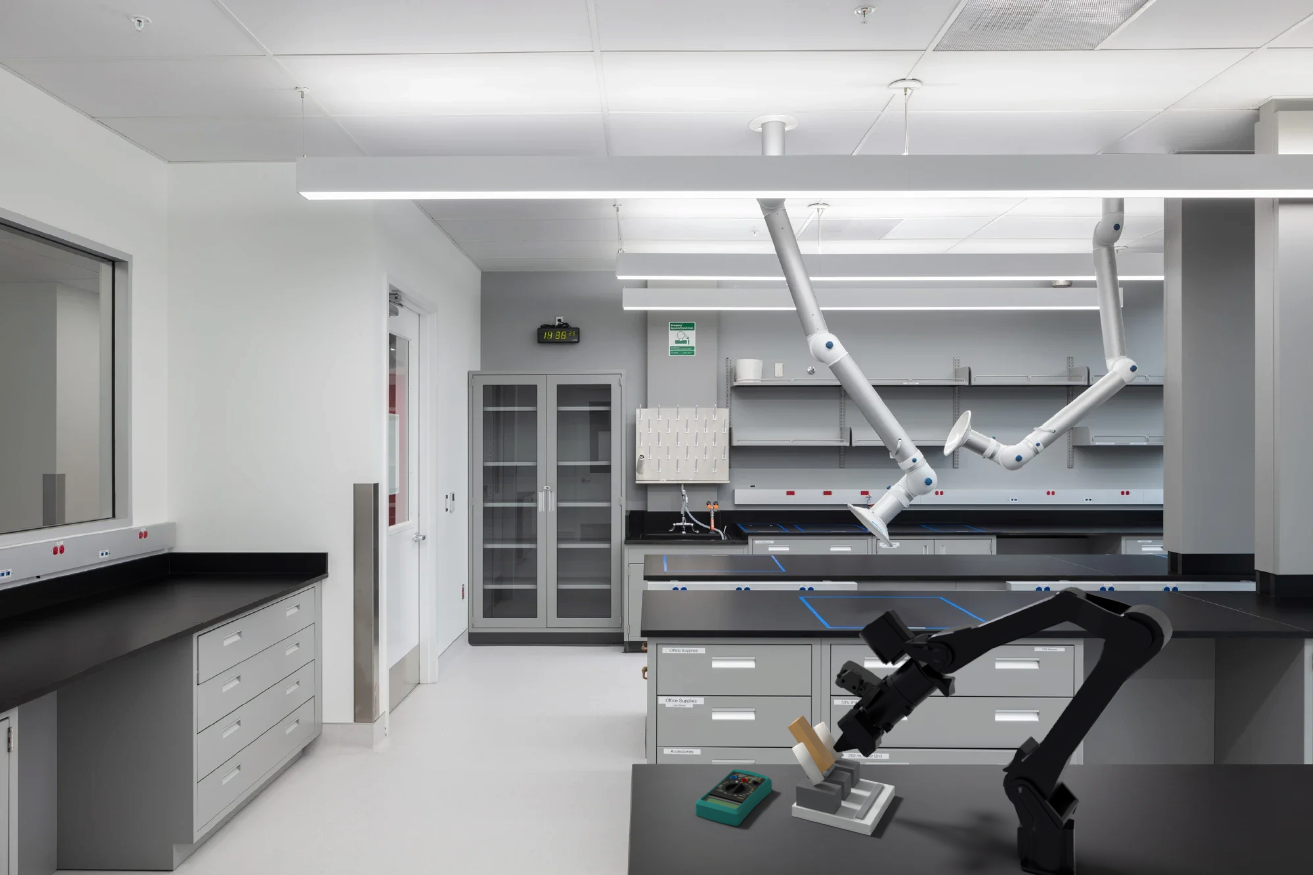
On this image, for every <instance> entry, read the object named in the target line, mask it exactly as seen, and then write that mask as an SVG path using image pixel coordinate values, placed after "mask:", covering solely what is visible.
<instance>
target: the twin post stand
mask: <svg viewBox="0 0 1313 875" xmlns="http://www.w3.org/2000/svg"><path fill="white" fill-rule="evenodd" d="M813 730H814V731H815V733H816V734H817V736H818V737H819V738H820V740H821V741H822V743H823V744H824V745H825V747H826V748H827V750H828V751H829V753H830V754H831V755H832V757H833V758H834V760H835V762H834V764H835V768H834V769H833V771H832V772H831V773H830V774H829V775H828V776H827V777H825V776H824V775H823V772H822V773H821V772H820V770H819V769H818V767H817V765H816V764H815V762H814V760H813V759H812V757H811V755H810V754H809V752H808V750H807V748H806V747H805V745H804V743H803V742H801V743H798V744H796V745H795V746H793V747H792V748H791V749H792V752H793V754H794V755H795V756H796V758H797V760H798V761H799V764H800V766H801V768H802V769H803V770H804V772H805V774H806V776H807V777H803V778H802V779H801V780H800V781H799V782H798V783H797V784H796V785H795V794H796V795H795V802H794V803H793V804H792V805H791V817H795V818H798V819H803V820H805V821H806V820H807V821H810V822H814V823H818V824H822V825H823V824H824V825H827V826H831V827H835V828H838V829H842V830H847V831H851V832H855V833H858V834H862V835H867V836H871V835H872V833H873V832H874V831H875V829H876V827H877V825H879V822H880V820H881V819H882V817H883V816H884V814H885V812H886V810H887V809H888V807H889V806H890V804H891V802H892V801H893V799H894V797H895V795H896V794H895V785H891V784H886V783H881V782H877V781H871V780H867V779H863V778H861V761H858V760H853V759H848V758H843V757H844V756H845V754H844V753H843V752H839V753H837V752H836V751H835V750H834V749H833V746H834V745H835V743H836V742H837V740H835V737H834V736H833V734H832V733H831V731H830V730H829V728H828V726H827V724H826V723H825V722H824V721H821V722H820V723H818V724H816V725H815V726H813Z"/></svg>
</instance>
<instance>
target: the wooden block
mask: <svg viewBox="0 0 1313 875" xmlns="http://www.w3.org/2000/svg"><path fill="white" fill-rule="evenodd" d="M787 729H788V730H789V732H790V734H792V736H793V738H794V739H795V741H796V742H797V743H798V744H799V743H801V742H803V743H804V745H805V747H806V748H807V750H808V752H809V754H810V755H811V757H812V759H813V760H814V762H815V764H816V765H817V767H818V769H819V770H820V772H821V773H822V772H823V775H824V776H825V777H827V776H828V775H829V774H830V773H831V772H832V771H833V769H834V768H835V764H834V762H835V760H834V758H833V757H832V755H831V754H830V753H829V751H828V750H827V748H826V747H825V745H824V744H823V743H822V741H821V739H820V738H819V736H818V734H817V733H816V731H815V729H814V727H812V726H811V724H810V723H809V721H808V720H807V719H806V717H805V715H803V714H802V715H801V716H800V717H798V718H797V719H795V720H794V721H792V722H791V724H789V725H788V726H787Z"/></svg>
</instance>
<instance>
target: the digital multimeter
mask: <svg viewBox="0 0 1313 875" xmlns="http://www.w3.org/2000/svg"><path fill="white" fill-rule="evenodd" d="M772 791H773V779H771V778H770V777H769V776H766V775H765V774H761V773H758V772H756V771H751V770H745V769H736V768H735V769H733V770H731V771H730V772H729V773H728V774H727V775H726V776H725V777H724V778H723V779H721V781H720V782H718V783H717V784H716V785H715V786H714V787H712V788H711V789H710V790H709V791H707V792H706V794H703V795H702V796H701V797H700V798H699V799H698V800H696V801H695V803H694V804H695V806H694V807H695V808H694V810H695V811H694V812H695V815H696V816H697V817H700V818H703V819H706V820H708V821H713V822H716V823H720V824H724V825H729V826H735V827H738V826H740V824H741V823H742V822H743V821H744V820H745V818H746V817H747V816H748V815H749V814H750V813H751V812H752V811H753V809H754V808H756V806H757V805H759V803H760V802H762V800H763V799H765V798H766V797H767V796H768V795H769V794H770V793H772Z"/></svg>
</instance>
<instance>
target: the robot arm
mask: <svg viewBox="0 0 1313 875" xmlns="http://www.w3.org/2000/svg"><path fill="white" fill-rule="evenodd" d="M1065 622H1069V623H1071V624H1073V625H1076V626H1077V627H1080V628H1082V629H1083V630H1085V631H1086V632H1088V633H1091V634H1092V635H1093V636H1095V637H1098V638H1100V639H1102V640H1104V642H1103V645H1102V647H1101V651H1100V654H1099V657H1098V660H1097V663H1096V665H1095V666H1094V668H1093V669H1092V670H1091V672H1090V673H1089V674H1088V676H1087V677H1086V679H1085V680H1084V681H1083V683H1082V685H1081V686H1080V687H1079V689H1078V690H1077V691H1076V693H1075V694H1074V696H1073V697H1072V699H1071V700H1070V702H1069V703H1068V704H1067V706H1066V707H1065V708H1064V710H1063V711H1062V713H1060V715H1059V717H1058V718H1057V720H1056V721H1055V722H1054V724H1053V725H1052V727H1051V728H1050V730H1049V731H1048V732H1047V734H1046V735H1045V737H1044V738H1043V739H1042V740H1041V741H1040V742H1038V741H1037V740H1036V739H1035V738H1034V737H1033V736H1029V737H1028V738H1027V739H1026V740H1025V741H1024V742H1023V743H1022V744H1021V745H1020V746H1019V747H1017V750H1016V751H1015V753H1014V756H1013V758H1012V760H1010V761H1009V763H1007V764H1006V765H1005V766H1004V767H1003V768H1002V771H1003V772H1005V773H1006V774H1005V775H1004V778H1003V780H1002V787H1003V788H1004V793H1005V795H1006V797H1007V799H1008V800H1009V801H1010V802H1011V804H1013V806H1014V809H1015V813H1016V816H1017V817H1018V820H1019V821H1018V822H1017V829H1016V841H1017V842H1016V844H1017V845H1016V846H1017V848H1016V850H1017V851H1016V854H1017V855H1016V857H1017V858H1019V859H1020V862H1019V868H1020V869H1021V870H1023V871H1026V872H1032V873H1034V874H1035V873H1036V874H1039V875H1076V871H1077V857H1076V845H1075V844H1076V841H1075V840H1076V838H1075V835H1076V834H1075V833H1076V831H1075V830H1076V829H1075V828H1076V827H1075V826H1076V825H1075V823H1076V822H1075V819H1073V818H1071V817H1072V816H1073V815H1074V814H1075V813H1076V811H1077V809H1078V807H1079V805H1080V800H1079V798H1078V797H1077V796H1076V795H1075V794H1074V793H1073V792H1072V790H1071V789H1070V788H1069V787H1068V786H1067V784H1065V782H1064V779H1065V777H1066V774H1067V773H1068V770H1069V766H1070V763H1071V761H1072V757H1073V754H1075V752H1076V750H1077V749H1078V747H1079V746H1080V745H1081V743H1083V741H1084V739H1085V738H1087V736H1088V734H1089V733H1090V731H1091V730H1092V729H1093V727H1094V726H1095V725H1096V724H1097V721H1098V720H1099V719H1100V717H1101V716H1102V714H1103V713H1104V712H1105V711H1106V709H1108V707H1109V705H1110V704H1111V703H1112V701H1113V700H1114V699H1115V697H1116V696H1117V694H1118V693H1119V691H1120V690H1121V689H1122V687H1123V686H1124V685H1125V684H1126V682H1127V681H1128V680H1129V679H1130V678H1132V676H1134V675H1135V674H1136V673H1137V672H1138V671H1139V670H1141V669H1142V668H1143V667H1144V666H1145V665H1146V664H1148V663H1149V662H1150V661H1151V660H1152V659H1153V658H1155V656H1156V655H1158V654H1159V653H1160V652H1161V651H1162V649H1163V648H1164V647H1165V646H1166V645H1167V643H1168V642H1169V641H1170V640H1171V638H1172V636H1173V631H1174V630H1173V626H1172V624H1171V620H1170V619H1169V617H1168V615H1166V613H1165V612H1163V611H1162V610H1161V609H1159V608H1157V607H1155V606H1153V605H1149V604H1135V605H1132V604H1129V603H1128V602H1124V601H1121V600H1117V599H1114V598H1111V597H1110V598H1109V597H1106V596H1103V595H1098V594H1094V593H1091V592H1088V591H1086V590H1083V589H1081V588H1079V587H1077V586H1076V587H1075V586H1069V587H1065V588H1062V589H1061V590H1059V591H1058V592H1057V591H1056V592H1055V593H1054V594H1052V595H1049V596H1047V597H1045V598H1042V599H1040V600H1038V601H1037V600H1036V601H1035V602H1032V603H1030V604H1027V605H1025V606H1022V607H1019V608H1017V609H1015V610H1012V611H1010V612H1007V613H1004V614H1002V615H1000V616H997V617H995V618H992V619H990V620H987V621H982V622H973V623H969V624H968V623H967V624H962V625H961V624H960V625H957V626H951V627H948V628H947V627H946V629H943V630H941V631H939V632H937V633H922V634H919V635H917V636H916V635H915V634H914V633H913V632H912V630H910V628H909V626H907V625H906V623H904V622H903V620H902V618H901V617H900V615H899V614H898V613H897V611H896V610H895V609H893V608H892V609H888V610H887V611H885V612H884V613H883V614H882V615H880V616H879V617H877V618H875V620H873V621H872V622H870V623H868V624H866V625H865V626H864V627H863V628H862V629H861V631H859V633H858V635H859V637H860V638H861V639H862V641H863V642H864V644H866V645H867V646H868V648H869V649H870V650H871V651H872V653H873V654H874V655H875V656H876V658H877V659H878V660H879V661H880V662H881V663H882V664H883V665H885V666H887V665H888V664H891V665H892V666H893V667H894V666H896V665H897V664H899V663H901V662H902V661H903V660H904V659H906V658H907V657H909V658H908V660H906V661H905V662H904V663H902V665H900V667H898V668H897V669H895V670H894V672H892V673H891V674H886V675H885V676H884V677H883V678H880V677H879V676H877V675H876V674H874V672H872V671H871V670H869V669H867V668H865V667H864V666H862V665H860V664H859V663H857V662H855V661H854V660H850V659H849V660H847V661H846V662H845V663H843V664H842V666H841V668H840V671H839V672H837V674H836V678H835V681H834V684H835V685H836V686H837V687H838V688H840V689H844V690H846V691H847V692H849V693H851V694H852V695H854V696H856V697H858V698H859V700H858V701H857V702H856V703H855V704H854V705H853V706H852V708H850V709H849V710H848V711H847V712H846V713H845V714H844V715H842V717H840V719H839V720H838V721H837V722H836V724H837V726H838V729H839V730H840V731H841V732H842V733H841V735H840V736H839V738H838V739H837V740H836V743H835V745H834V746H833V749H834V750H835V751H836V752H837V753H839V752H842V753H843V752H846V751H852V750H858V752H859V753H860V754H861V755H862V756H863V757H864V758H867V759H868V758H869V757H870V756H871V755H872V754H873V753H874V752H876V751H877V749H879V747H880V745H881V744H882V742H883V741H882V737H883V736H884V735H885V733H886V734H888V733H890V732H891V731H892V730H893V729H894V727H895V726H896V725H897V724H898V723H900V722H901V721H902V720H904V718H908V717H909V716H910V715H911V714H912V713H913V711H914V710H915V709H916V708H918V706H919V705H920V704H922V703H923V702H924V701H926V699H928V698H929V697H930V696H931V695H933V694H934V692H936V691H937V690H939V692H941V694H942V695H943V696H944V697H945V698H950V697H951V696H953V695H954V694H956V687H955V682H956V676H954V675H953V676H952V675H951V674H953V673H956V672H957V671H959V670H961V669H962V668H964V667H966V666H968V665H970V664H971V663H972V662H974V661H975V660H977V659H979V658H981V657H982V656H983V655H985V654H987V653H988V652H990V651H991V650H993V649H996V648H999V647H1001V646H1004V645H1006V644H1010V643H1012V642H1014V641H1017V640H1020V639H1023V638H1025V637H1028V636H1031V635H1033V634H1037V633H1039V632H1041V631H1044V630H1046V629H1050V628H1052V627H1055V626H1057V625H1060V624H1062V623H1065Z"/></svg>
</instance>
